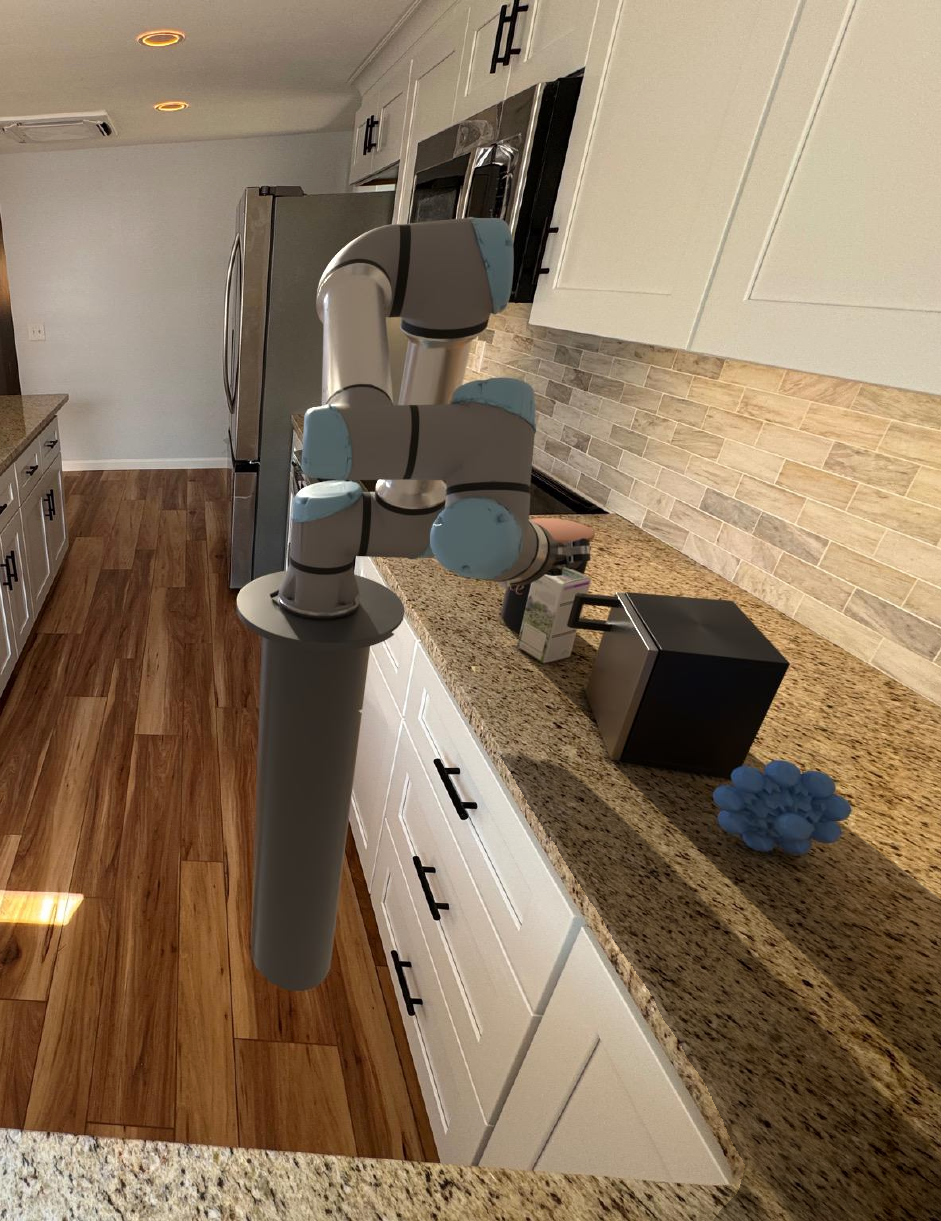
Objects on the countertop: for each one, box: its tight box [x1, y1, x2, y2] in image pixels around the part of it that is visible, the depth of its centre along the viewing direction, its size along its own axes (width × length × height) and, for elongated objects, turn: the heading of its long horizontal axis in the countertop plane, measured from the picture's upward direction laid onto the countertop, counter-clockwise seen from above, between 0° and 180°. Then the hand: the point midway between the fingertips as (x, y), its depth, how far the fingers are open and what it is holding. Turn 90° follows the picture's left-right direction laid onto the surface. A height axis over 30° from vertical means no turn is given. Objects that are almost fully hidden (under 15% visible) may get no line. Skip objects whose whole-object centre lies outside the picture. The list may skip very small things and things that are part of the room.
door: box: [567, 591, 658, 762], centre depth 90 cm, size 6×16×17 cm, turn 159°
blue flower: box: [712, 759, 852, 856], centre depth 70 cm, size 12×7×12 cm, turn 72°
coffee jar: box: [500, 517, 596, 634], centre depth 115 cm, size 11×11×18 cm
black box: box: [620, 591, 791, 780], centre depth 87 cm, size 12×16×17 cm
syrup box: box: [516, 567, 592, 664], centre depth 107 cm, size 6×6×14 cm
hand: (555, 565), depth 91 cm, fingers closed
